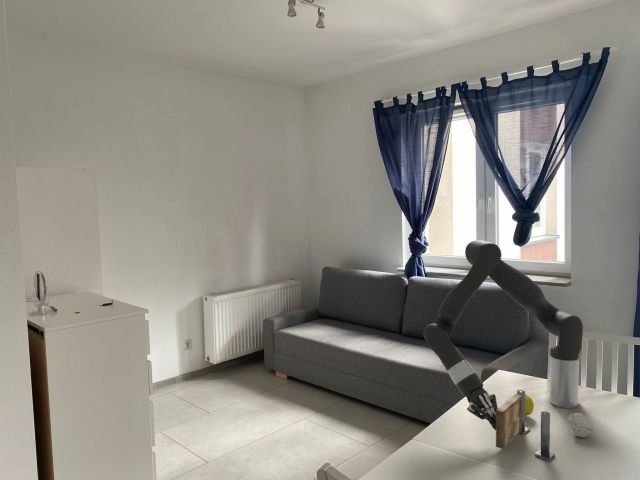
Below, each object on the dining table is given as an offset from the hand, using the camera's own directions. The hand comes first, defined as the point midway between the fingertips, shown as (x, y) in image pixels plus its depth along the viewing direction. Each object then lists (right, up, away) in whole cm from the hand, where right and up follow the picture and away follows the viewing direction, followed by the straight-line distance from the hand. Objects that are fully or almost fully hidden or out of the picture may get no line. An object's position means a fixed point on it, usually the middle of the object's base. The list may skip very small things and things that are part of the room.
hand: (499, 428), depth 145 cm
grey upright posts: (+11, -5, +2) cm, 12 cm away
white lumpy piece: (+27, -4, +5) cm, 28 cm away
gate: (+4, -4, +2) cm, 6 cm away
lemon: (+16, -3, +19) cm, 25 cm away
